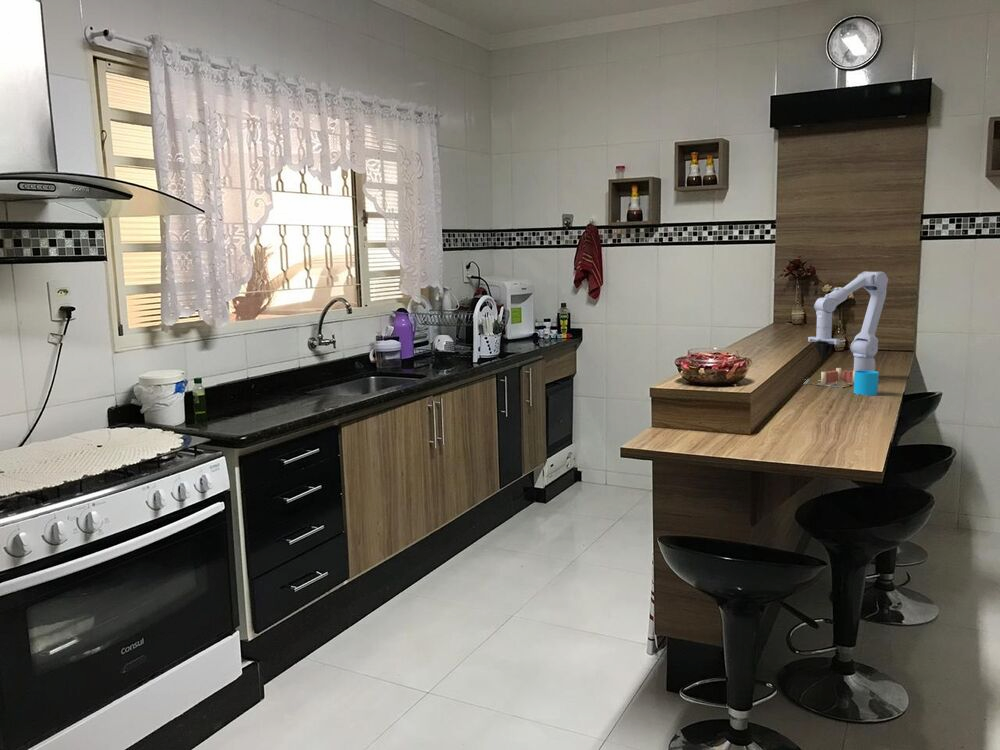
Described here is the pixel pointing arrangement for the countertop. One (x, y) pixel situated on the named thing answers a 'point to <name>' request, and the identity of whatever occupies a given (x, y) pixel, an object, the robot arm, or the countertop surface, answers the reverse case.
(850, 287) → the robot arm
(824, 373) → the fence panel
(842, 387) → the board
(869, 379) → the mug
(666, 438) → the countertop surface
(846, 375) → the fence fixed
